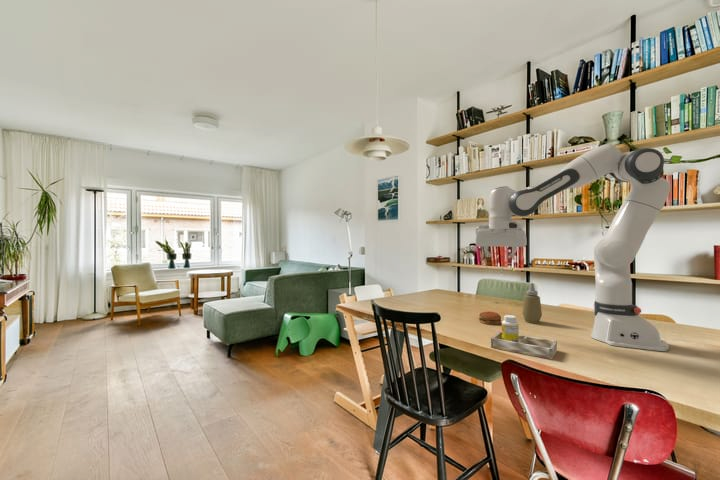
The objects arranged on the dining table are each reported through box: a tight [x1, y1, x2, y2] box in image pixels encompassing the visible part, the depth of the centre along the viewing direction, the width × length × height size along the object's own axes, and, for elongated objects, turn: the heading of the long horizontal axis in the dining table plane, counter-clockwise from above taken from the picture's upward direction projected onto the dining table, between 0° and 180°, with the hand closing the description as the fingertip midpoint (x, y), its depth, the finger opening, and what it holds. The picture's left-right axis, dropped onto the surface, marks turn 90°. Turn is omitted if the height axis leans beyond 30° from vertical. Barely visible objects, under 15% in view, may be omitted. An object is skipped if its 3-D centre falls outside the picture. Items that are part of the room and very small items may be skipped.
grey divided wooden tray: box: [490, 331, 558, 360], centre depth 115 cm, size 19×10×3 cm, turn 51°
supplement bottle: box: [501, 314, 520, 343], centre depth 118 cm, size 6×6×10 cm
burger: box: [478, 311, 502, 326], centre depth 151 cm, size 10×9×5 cm
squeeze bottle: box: [522, 282, 543, 324], centre depth 151 cm, size 8×8×18 cm
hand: (500, 257), depth 138 cm, fingers open, 8 cm apart
